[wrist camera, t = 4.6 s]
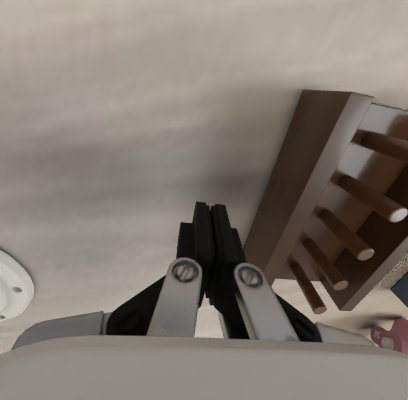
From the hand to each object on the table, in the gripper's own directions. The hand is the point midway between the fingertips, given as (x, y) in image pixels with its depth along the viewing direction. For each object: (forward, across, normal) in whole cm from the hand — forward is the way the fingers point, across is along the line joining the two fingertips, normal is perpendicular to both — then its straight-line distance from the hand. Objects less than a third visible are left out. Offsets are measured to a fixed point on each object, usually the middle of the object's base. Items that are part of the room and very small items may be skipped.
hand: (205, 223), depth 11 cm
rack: (+4, -10, 0) cm, 11 cm away
